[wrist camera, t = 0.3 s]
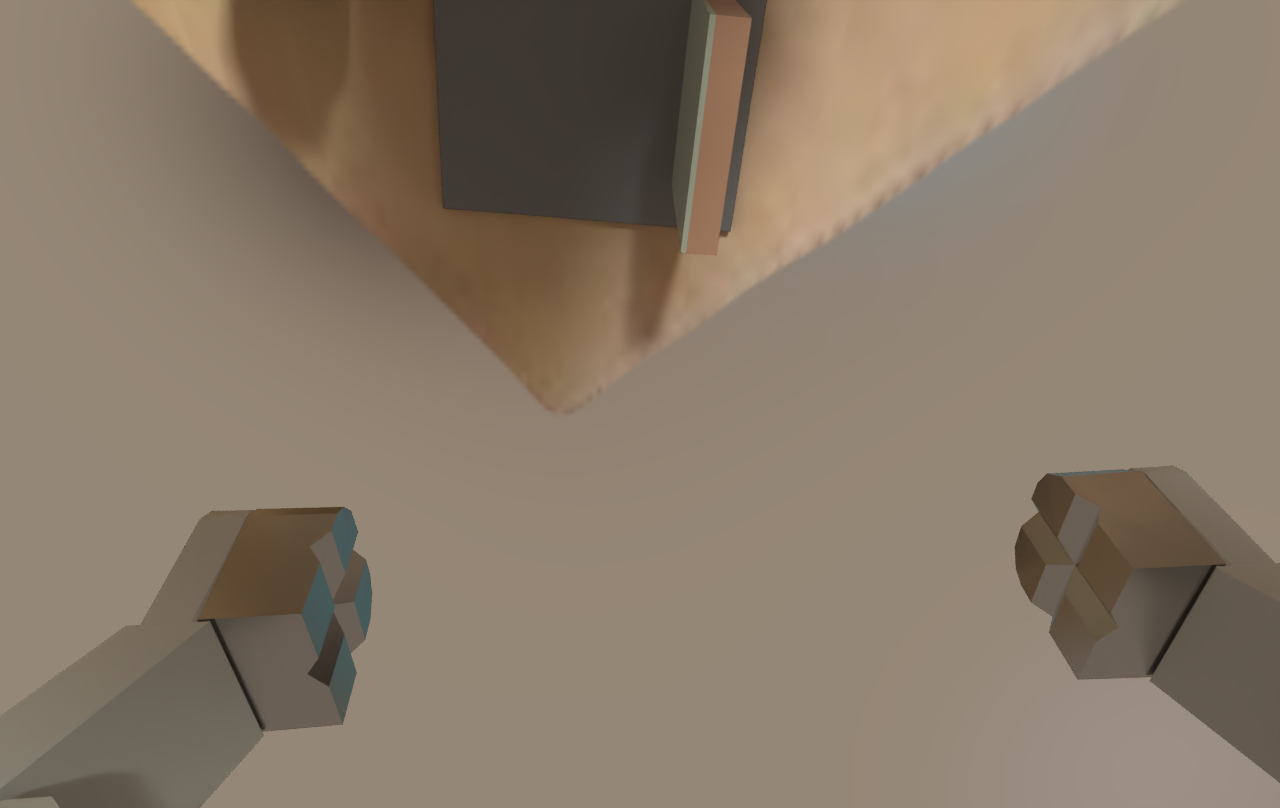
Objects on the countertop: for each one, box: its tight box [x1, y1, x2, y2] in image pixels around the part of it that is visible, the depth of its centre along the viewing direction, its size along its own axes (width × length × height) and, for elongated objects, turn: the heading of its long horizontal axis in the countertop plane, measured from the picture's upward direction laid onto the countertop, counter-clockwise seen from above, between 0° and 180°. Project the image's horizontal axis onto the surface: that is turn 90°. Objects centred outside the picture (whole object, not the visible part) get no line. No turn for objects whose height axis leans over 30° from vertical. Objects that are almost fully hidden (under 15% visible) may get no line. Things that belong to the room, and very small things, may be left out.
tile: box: [672, 0, 752, 255], centre depth 46 cm, size 12×2×12 cm, turn 175°
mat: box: [433, 0, 767, 231], centre depth 51 cm, size 18×20×1 cm
